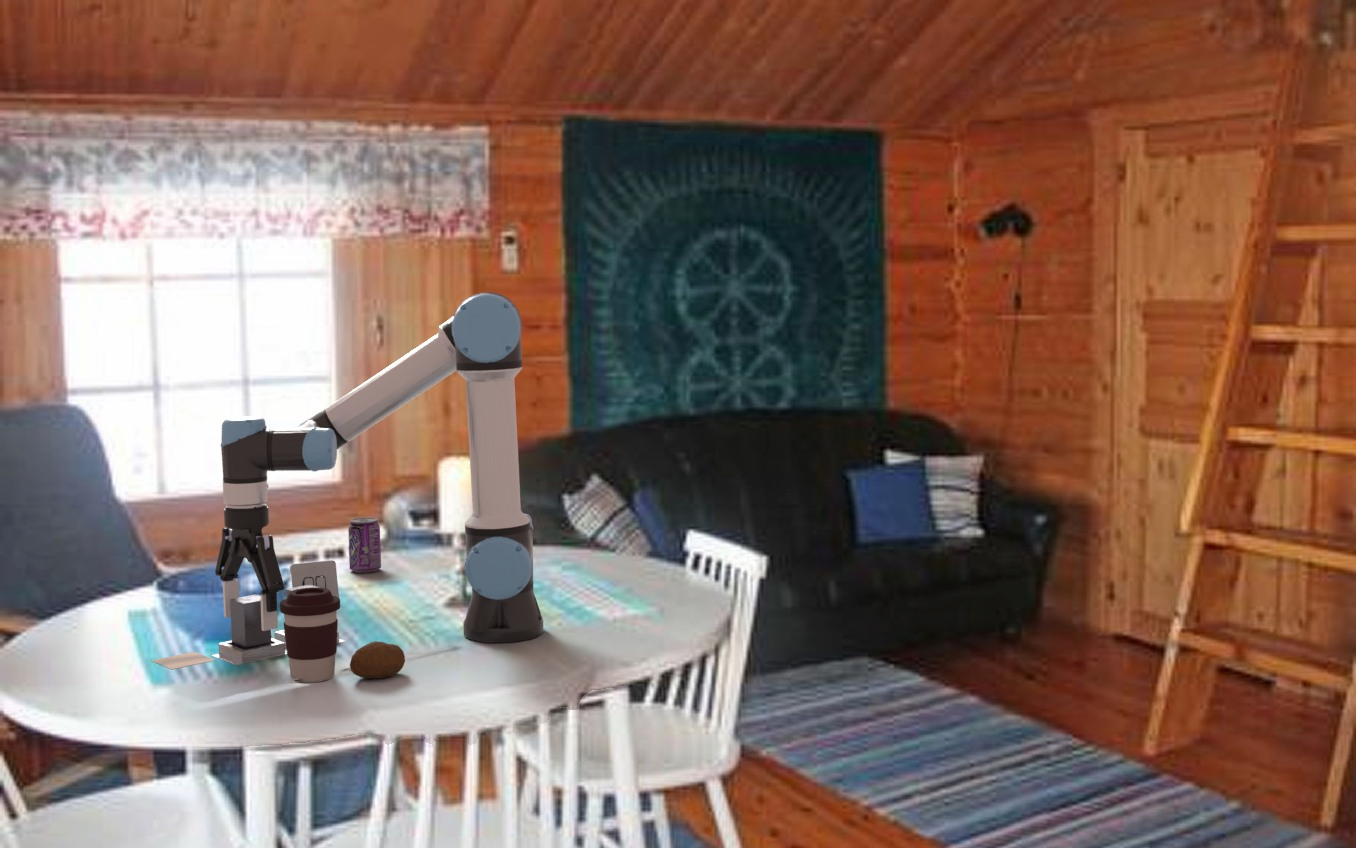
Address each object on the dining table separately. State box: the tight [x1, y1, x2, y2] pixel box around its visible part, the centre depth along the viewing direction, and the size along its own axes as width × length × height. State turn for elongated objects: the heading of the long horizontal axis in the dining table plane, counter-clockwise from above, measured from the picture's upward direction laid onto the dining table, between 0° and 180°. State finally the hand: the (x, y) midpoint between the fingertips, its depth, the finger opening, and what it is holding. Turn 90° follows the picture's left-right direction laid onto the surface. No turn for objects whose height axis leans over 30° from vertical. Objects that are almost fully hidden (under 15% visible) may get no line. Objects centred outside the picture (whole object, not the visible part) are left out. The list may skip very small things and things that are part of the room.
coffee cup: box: [279, 587, 341, 684], centre depth 242 cm, size 10×10×15 cm
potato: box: [349, 640, 406, 679], centre depth 242 cm, size 7×10×6 cm
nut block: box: [230, 594, 272, 650], centre depth 254 cm, size 5×5×10 cm
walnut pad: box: [151, 651, 216, 670], centre depth 250 cm, size 8×8×1 cm
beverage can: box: [347, 516, 382, 574], centre depth 328 cm, size 7×7×12 cm
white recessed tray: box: [211, 629, 346, 666], centre depth 258 cm, size 9×22×3 cm, turn 135°
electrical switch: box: [289, 559, 340, 598], centre depth 295 cm, size 9×5×9 cm, turn 116°
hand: (250, 622), depth 254 cm, fingers open, 13 cm apart
